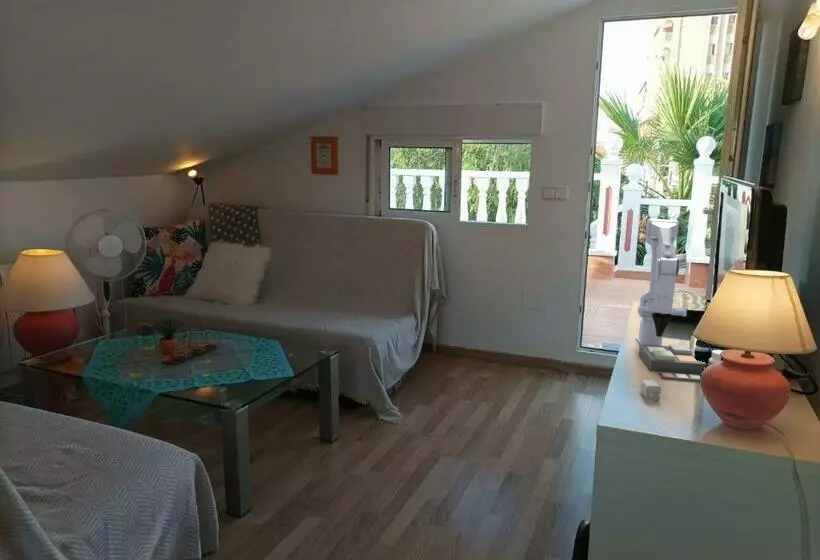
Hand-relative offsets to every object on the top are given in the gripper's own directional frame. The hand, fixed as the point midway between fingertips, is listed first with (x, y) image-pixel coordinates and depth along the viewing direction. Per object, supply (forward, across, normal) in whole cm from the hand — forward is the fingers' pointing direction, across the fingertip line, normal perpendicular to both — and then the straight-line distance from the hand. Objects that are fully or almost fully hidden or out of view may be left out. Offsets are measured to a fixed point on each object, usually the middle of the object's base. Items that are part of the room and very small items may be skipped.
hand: (658, 335), depth 198 cm
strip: (+8, +4, -16) cm, 18 cm away
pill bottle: (+8, +12, -19) cm, 24 cm away
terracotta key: (+8, +7, -7) cm, 13 cm away
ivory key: (+8, 0, 0) cm, 8 cm away
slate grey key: (+6, +7, 0) cm, 9 cm away
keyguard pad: (+8, +4, -4) cm, 10 cm away
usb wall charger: (+8, -10, -33) cm, 36 cm away
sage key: (+6, 0, -7) cm, 10 cm away
